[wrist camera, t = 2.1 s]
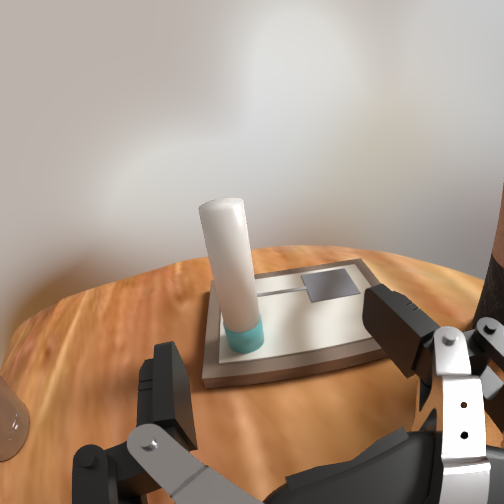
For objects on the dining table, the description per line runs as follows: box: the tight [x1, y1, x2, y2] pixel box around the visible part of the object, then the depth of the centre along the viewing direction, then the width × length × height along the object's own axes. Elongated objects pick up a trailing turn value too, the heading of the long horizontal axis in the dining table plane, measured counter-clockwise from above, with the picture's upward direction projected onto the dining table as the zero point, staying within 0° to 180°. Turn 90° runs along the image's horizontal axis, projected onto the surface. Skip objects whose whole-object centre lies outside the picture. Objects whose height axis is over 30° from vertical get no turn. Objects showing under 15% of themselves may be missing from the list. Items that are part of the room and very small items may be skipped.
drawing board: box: [202, 258, 389, 389], centre depth 30 cm, size 20×16×2 cm
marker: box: [199, 198, 264, 354], centre depth 23 cm, size 3×3×13 cm
